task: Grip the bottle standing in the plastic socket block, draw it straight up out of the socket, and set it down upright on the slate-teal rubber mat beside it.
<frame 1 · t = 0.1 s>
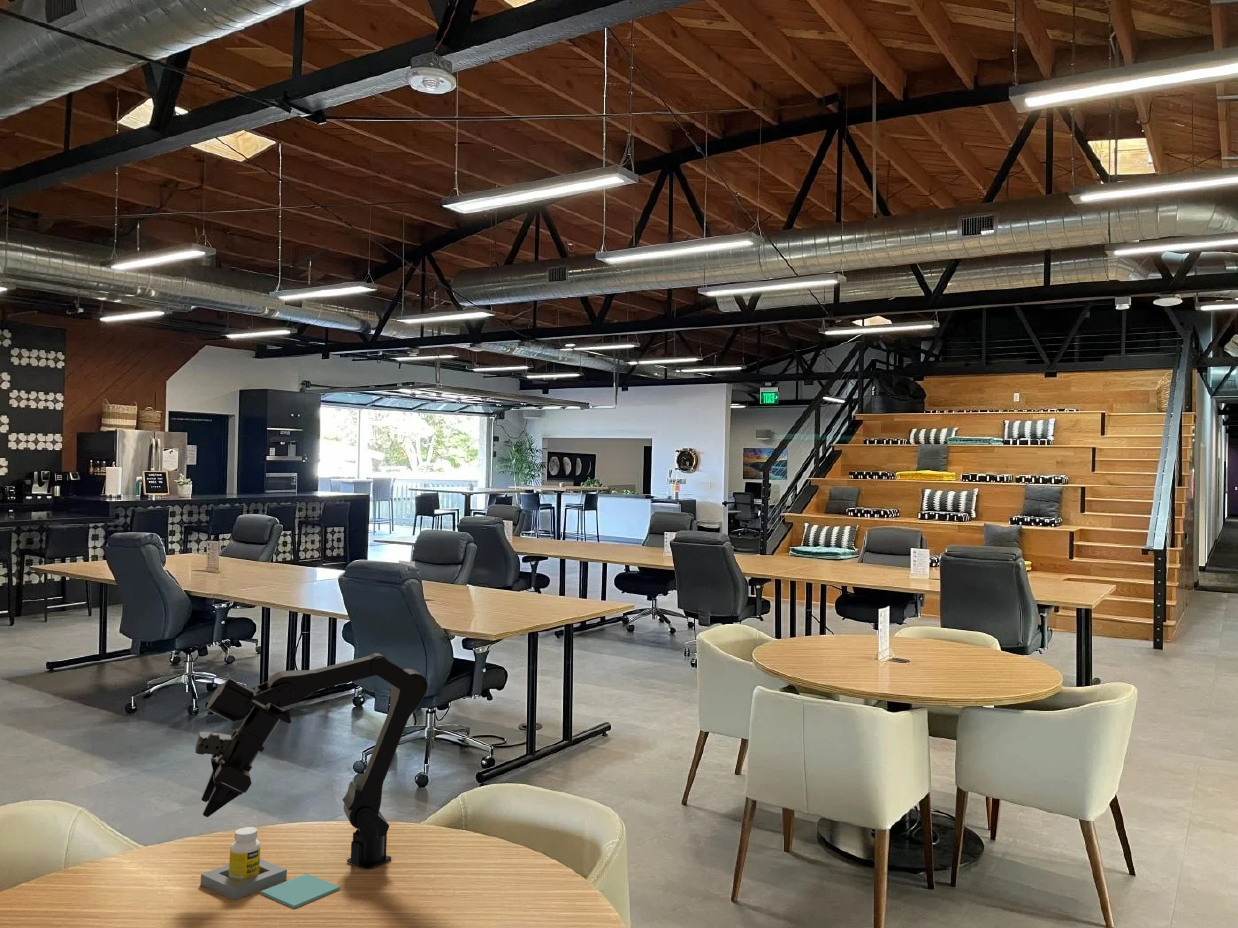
hand: (204, 808, 169), 15 cm above the table, tool tilted 30°, fingers open, 9 cm apart
supplement bottle: (243, 883, 171), resting in socket block
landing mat: (300, 891, 167), on the table
socket block: (243, 882, 171), on the table
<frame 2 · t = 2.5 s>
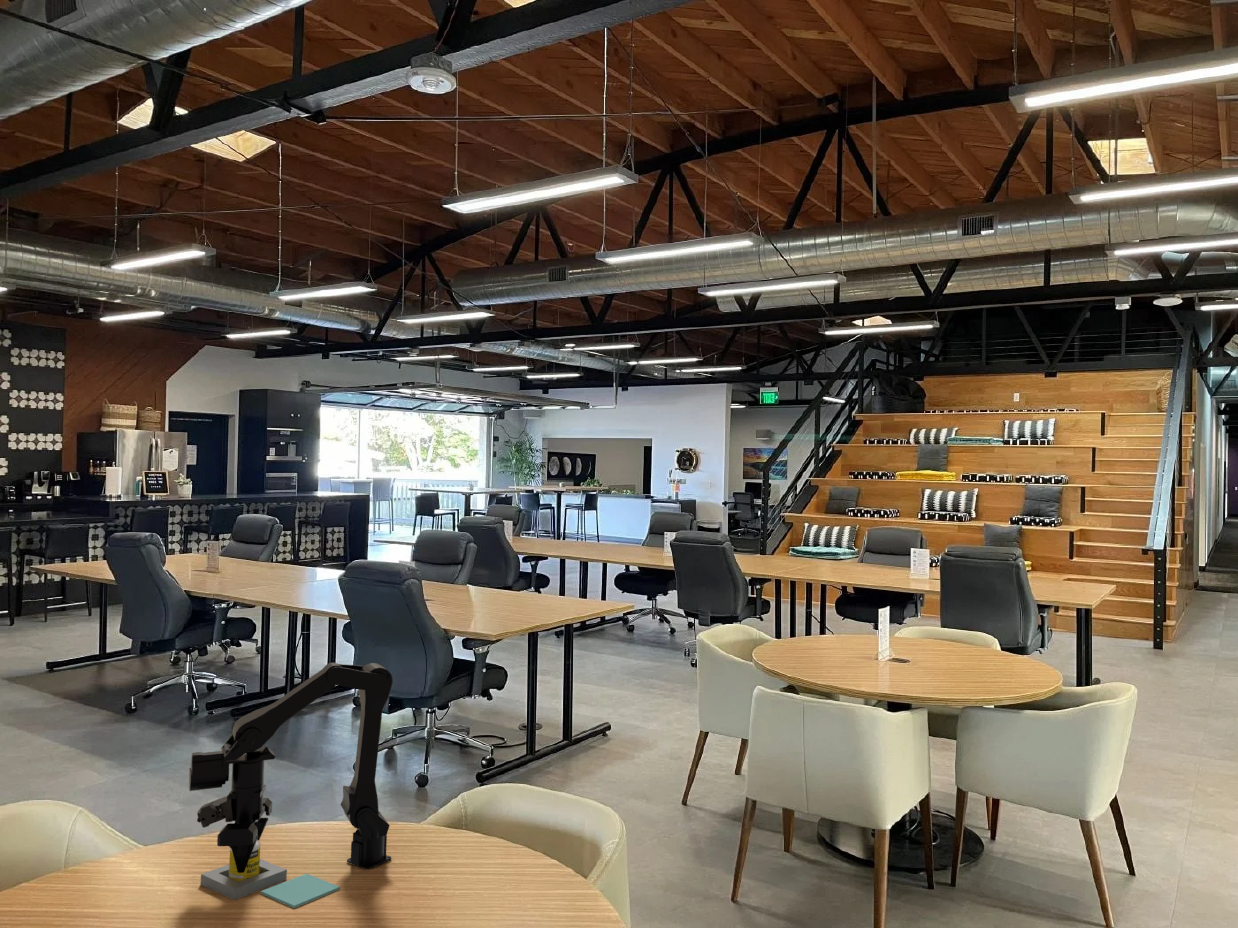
hand: (244, 866, 171), 3 cm above the table, tool pointing down, fingers closed on supplement bottle, 5 cm apart
supplement bottle: (243, 883, 171), resting in socket block, touching gripper
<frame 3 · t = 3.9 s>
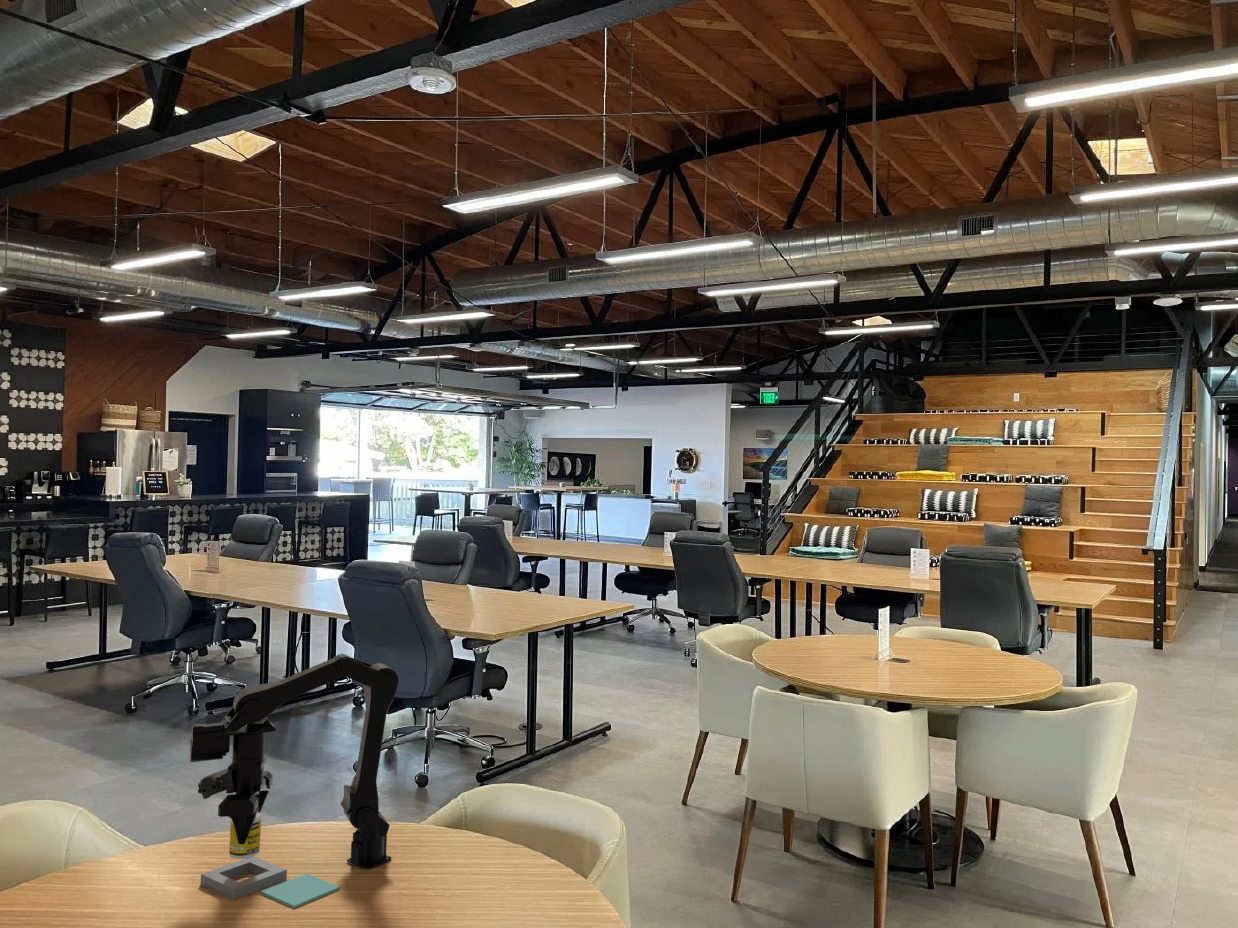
hand: (245, 838, 171), 8 cm above the table, tool pointing down, fingers closed on supplement bottle, 5 cm apart
supplement bottle: (244, 855, 171), point 5 cm above the table, touching gripper
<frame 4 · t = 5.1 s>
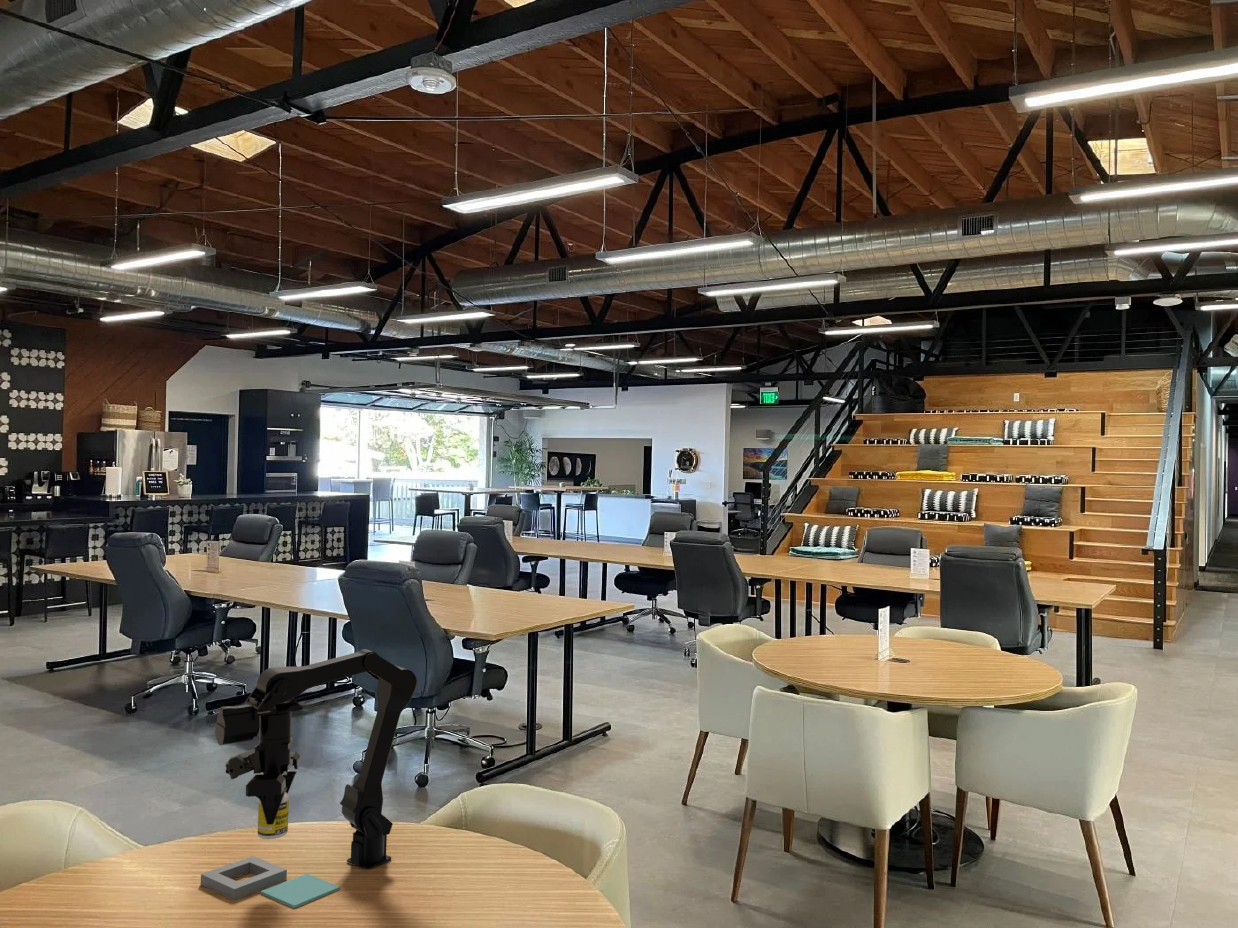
hand: (273, 818, 170), 13 cm above the table, tool pointing down, fingers closed on supplement bottle, 5 cm apart
supplement bottle: (272, 835, 170), point 9 cm above the table, touching gripper
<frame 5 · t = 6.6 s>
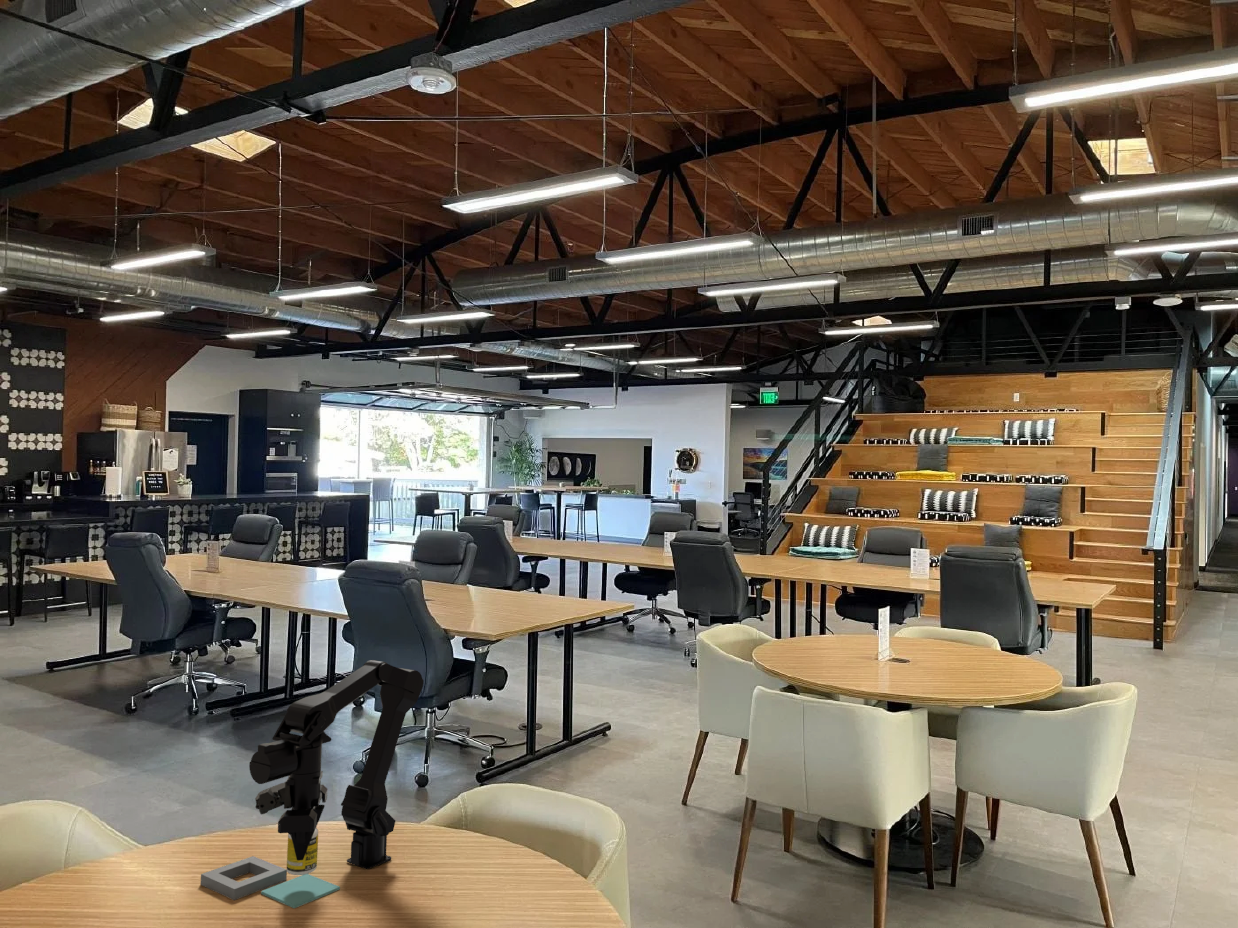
hand: (302, 853, 168), 7 cm above the table, tool pointing down, fingers closed on supplement bottle, 5 cm apart
supplement bottle: (301, 871, 168), point 4 cm above the table, touching gripper
when the fingers open (5 cm above the table, at t = 7.8 s): supplement bottle drops 1 cm, resting on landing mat.
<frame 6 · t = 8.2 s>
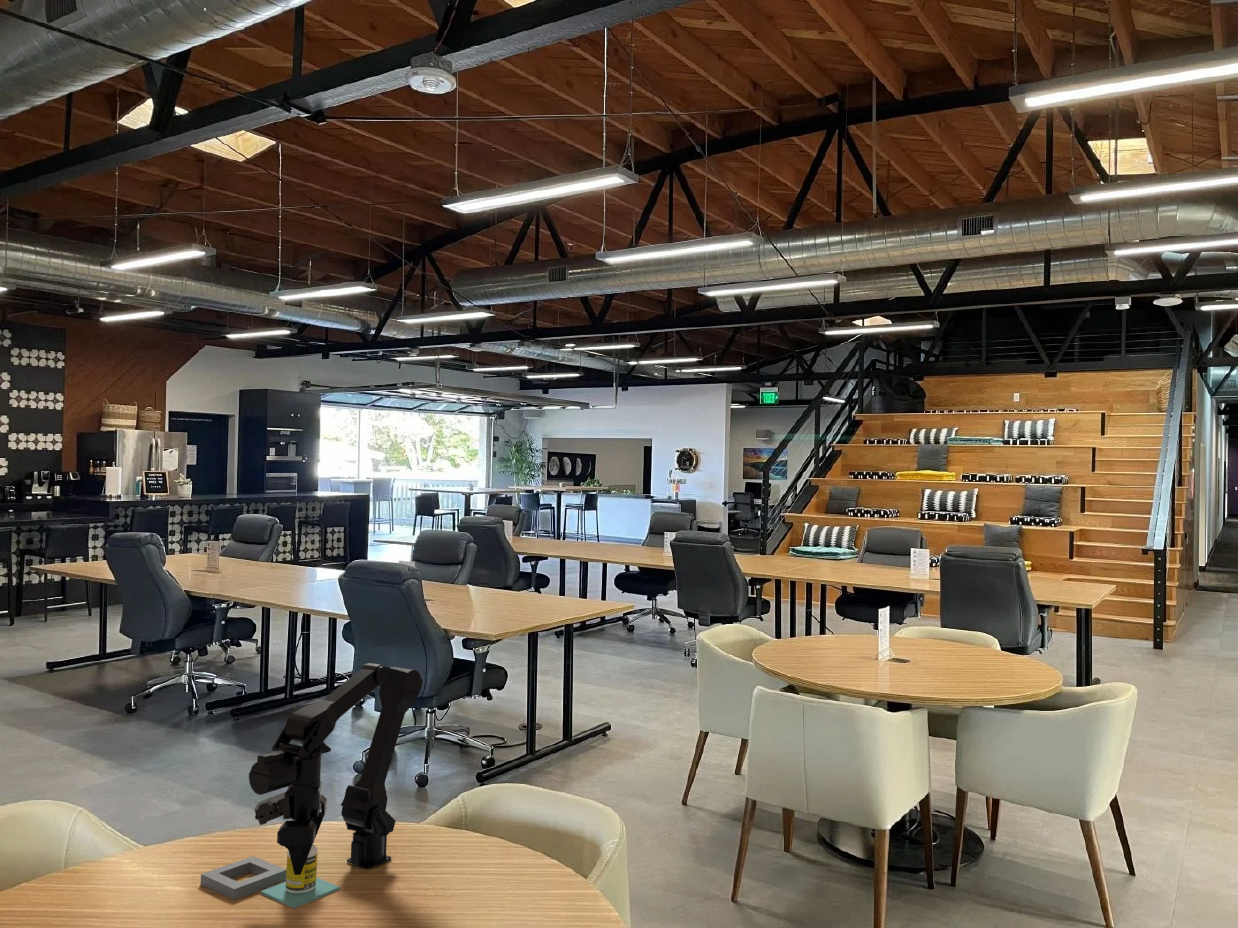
hand: (301, 864, 168), 5 cm above the table, tool pointing down, fingers open, 9 cm apart
supplement bottle: (301, 889, 168), resting on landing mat
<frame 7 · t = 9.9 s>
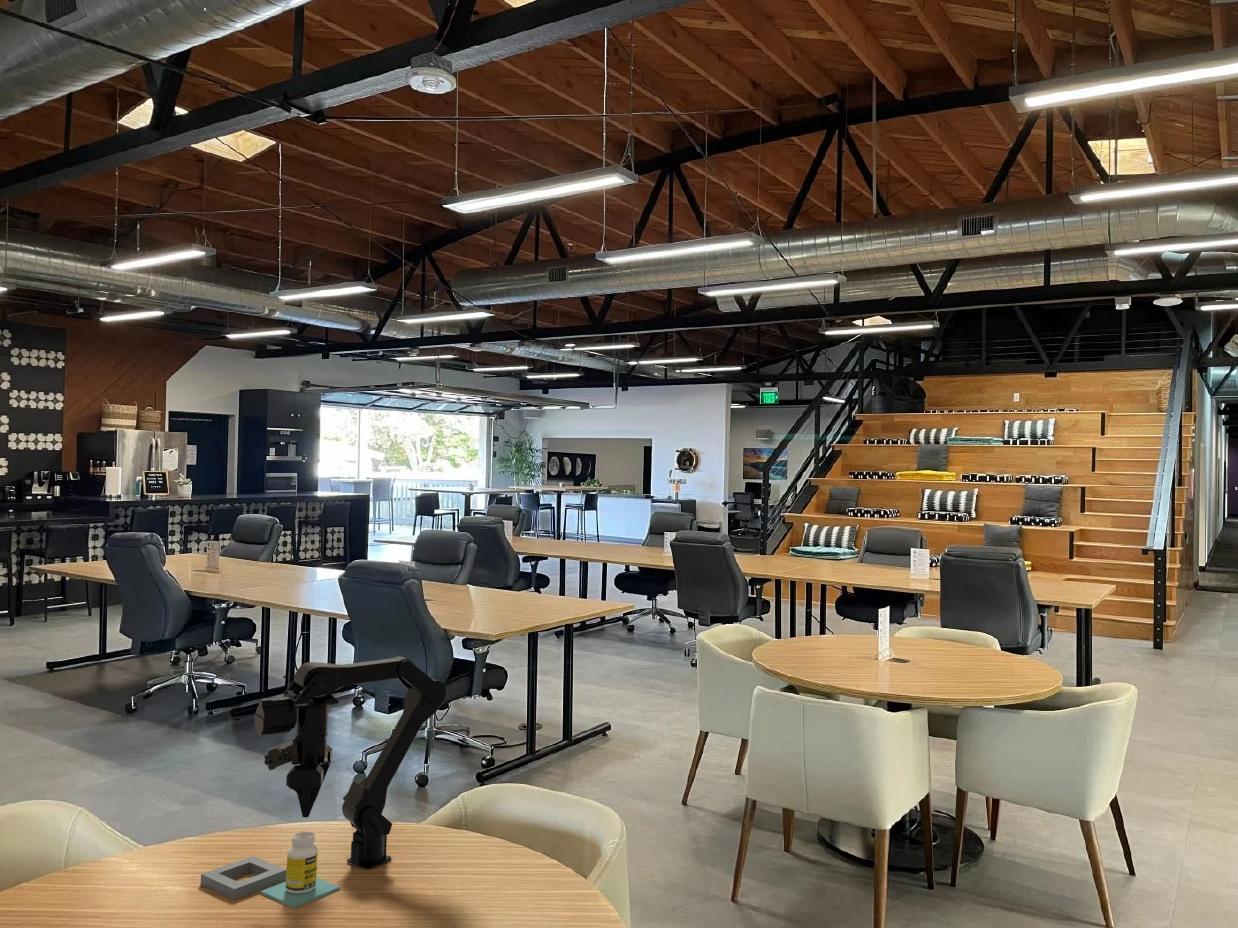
hand: (309, 808, 175), 13 cm above the table, tool pointing down, fingers open, 9 cm apart
nothing on the table moved.
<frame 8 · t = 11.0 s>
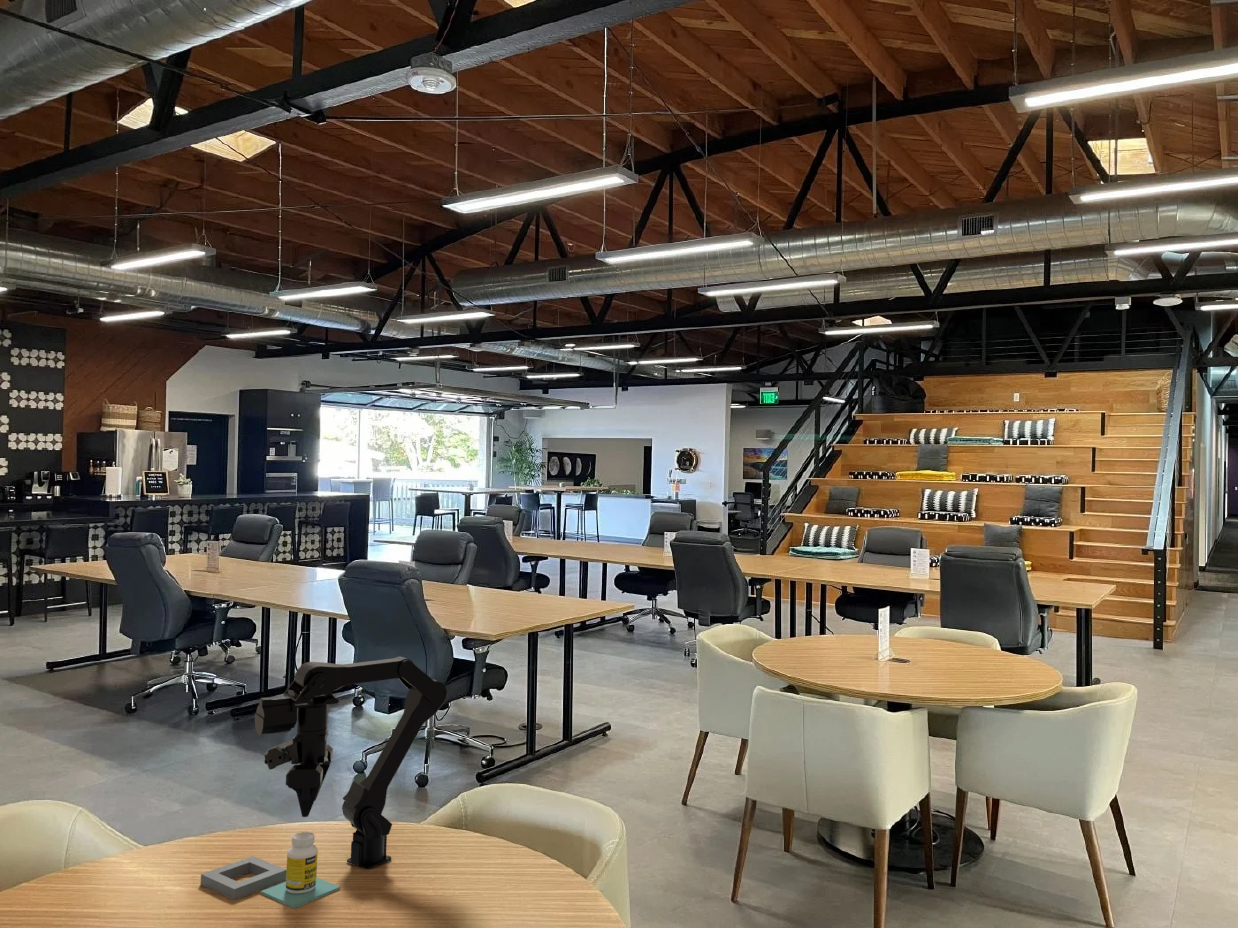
hand: (309, 808, 175), 13 cm above the table, tool pointing down, fingers open, 9 cm apart
nothing on the table moved.
at the end: supplement bottle inside the target area on the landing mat (0.1 cm from its centre), point 0.3 cm above the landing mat's base; supplement bottle tilted 0°; supplement bottle moved 12.6 cm from its start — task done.
